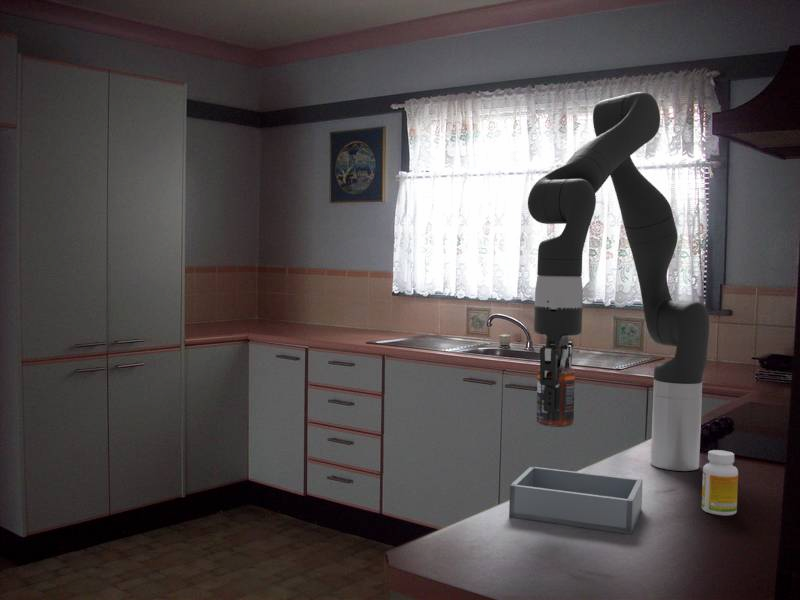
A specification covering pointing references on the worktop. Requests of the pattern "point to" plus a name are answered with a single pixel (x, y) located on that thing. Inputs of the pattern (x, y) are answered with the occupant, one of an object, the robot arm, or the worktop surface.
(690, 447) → the robot arm
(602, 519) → the tote
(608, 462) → the worktop surface
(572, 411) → the supplement bottle
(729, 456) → the supplement bottle
